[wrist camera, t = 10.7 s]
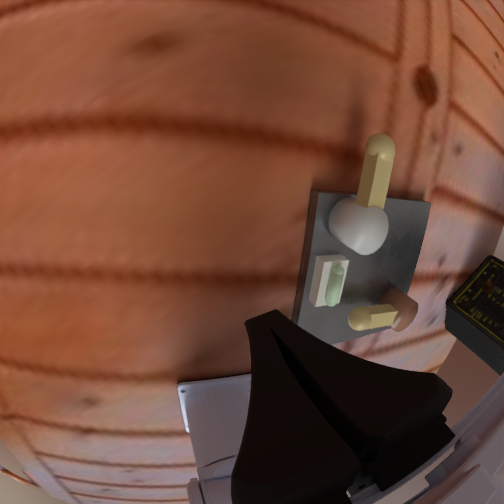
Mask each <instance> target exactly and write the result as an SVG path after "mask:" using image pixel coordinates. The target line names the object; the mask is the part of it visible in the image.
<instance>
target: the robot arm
mask: <svg viewBox="0 0 504 504" xmlns="http://www.w3.org/2000/svg"><path fill="white" fill-rule="evenodd" d="M244 324H245V327H246V330H247V333H248V336H249V342H250V352H251V374H246V375H240V376H233V377H226V378H219V379H210V380H202V381H192V382H181V383H179V384H178V385H177V388H178V394H179V399H180V405H181V410H182V415H183V419H184V424H185V429H186V431H187V432H190V437H191V442H192V446H193V451H194V455H195V460H196V464H197V472H198V476H199V480H200V481H198V480H197V478H192V479H190V482H189V483H188V484H187V492H188V497H189V502H190V504H373V503H375V502H376V501H378V500H380V499H382V498H383V497H385V496H387V495H388V494H390V493H391V492H393V491H395V490H396V489H398V488H399V487H401V486H402V485H404V484H405V483H406V482H408V481H410V480H411V479H412V478H414V477H415V476H416V475H418V474H419V473H421V472H422V471H423V470H424V469H426V468H427V467H428V466H430V465H431V464H432V463H433V462H435V461H436V460H437V459H438V458H440V457H441V456H442V455H443V454H444V453H445V452H446V451H448V450H449V449H450V448H451V447H452V446H453V445H454V444H455V446H454V451H453V452H452V453H451V454H450V455H449V456H448V457H447V458H446V459H445V460H444V461H442V462H441V463H440V464H439V465H438V466H437V467H436V468H435V469H433V470H432V471H431V472H430V473H429V474H427V475H426V476H425V479H426V481H427V482H428V483H429V486H428V487H426V488H425V489H424V490H422V491H421V492H419V493H418V494H417V495H415V496H414V497H412V498H411V499H410V500H408V501H406V502H405V503H403V504H504V482H503V481H502V480H501V478H500V477H499V476H498V475H497V473H496V472H497V471H498V470H499V468H500V467H501V466H502V464H503V463H504V372H503V374H502V375H501V376H500V377H499V378H498V380H497V381H496V382H495V383H494V385H493V386H492V387H491V388H490V389H489V390H488V391H487V392H486V394H485V395H484V396H483V397H482V398H481V399H480V400H479V401H478V402H477V403H476V404H475V405H474V406H473V407H472V408H471V409H470V410H469V411H468V412H467V413H466V415H464V416H463V417H462V418H461V419H460V420H459V421H458V422H457V423H456V424H455V425H454V426H453V427H452V428H449V427H448V426H447V425H446V424H445V422H446V417H445V416H444V415H443V414H442V412H443V410H444V409H445V407H446V406H447V404H448V402H449V401H450V399H451V397H452V389H451V388H450V387H449V386H448V385H447V384H446V383H445V382H444V381H443V380H442V379H441V378H440V377H438V376H437V375H436V374H435V373H426V372H417V371H408V370H402V369H397V368H392V367H388V366H385V365H381V364H377V363H374V362H370V361H367V360H364V359H362V358H359V357H356V356H354V355H351V354H349V353H346V352H344V351H342V350H340V349H338V348H336V347H333V346H332V345H330V344H328V343H326V342H324V341H322V340H320V339H319V338H317V337H315V336H314V335H312V334H310V333H309V332H307V331H306V330H304V329H303V328H301V327H300V326H298V325H297V324H295V323H294V322H292V321H291V320H290V319H288V318H287V317H286V316H285V315H283V314H282V313H281V312H280V311H278V310H276V309H275V310H273V311H270V312H267V313H265V314H262V315H259V316H257V317H254V318H251V319H248V320H246V322H245V323H244ZM347 490H348V492H349V493H350V495H351V497H348V495H347V494H346V491H347Z"/></svg>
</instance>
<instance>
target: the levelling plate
mask: <svg viewBox="0 0 504 504" xmlns="http://www.w3.org/2000/svg"><path fill="white" fill-rule="evenodd" d="M347 197H352V198H357V193H353V192H341V191H327V190H311V194H310V202H309V210H308V218H307V226H306V233H305V240H304V247H303V254H302V261H301V268H300V274H299V280H298V286H297V293H296V298H295V304H294V310H293V316H292V322H294V323H295V324H297V325H298V326H300V327H301V328H303V329H304V330H306V331H307V332H309V333H310V334H312V335H314V336H315V337H317V338H319V339H320V340H322V341H324V342H326V343H328V344H330V345H331V344H335V343H339V342H343V341H347V340H351V339H354V338H358V337H362V336H365V335H369V334H372V333H376V332H379V331H383V330H386V329H389V328H391V327H390V326H383V327H378V328H372V329H365V330H362V331H357V330H354V329H352V328H351V327H350V325H349V323H348V315H349V313H350V311H351V310H352V309H353V308H355V307H358V306H373V305H377V303H378V301H379V299H380V297H381V296H382V295H383V294H384V293H385V292H386V291H387V290H388V289H390V288H393V287H396V288H398V289H399V290H401V291H402V292H403V293H405V294H406V295H407V293H408V290H409V287H410V284H411V281H412V278H413V275H414V271H415V268H416V264H417V261H418V257H419V254H420V250H421V246H422V242H423V238H424V234H425V230H426V225H427V221H428V216H429V211H430V206H431V203H429V202H426V201H424V200H418V199H410V198H402V197H393V196H386V200H385V204H384V209H383V211H384V212H385V213H386V215H387V218H388V223H389V227H388V233H387V236H386V239H385V241H384V242H383V244H382V245H381V247H380V248H379V249H378V250H376V251H375V252H374V253H372V254H369V255H361V254H359V253H357V252H356V251H354V250H353V249H351V248H350V247H348V246H347V245H345V244H343V243H342V242H340V241H339V240H337V239H336V238H334V237H333V236H332V234H331V232H330V230H329V216H330V213H331V211H332V209H333V207H334V206H335V205H336V204H337V203H338V202H339V201H340V200H342V199H344V198H347ZM339 254H341V255H343V256H344V257H345V258H347V259H348V260H349V263H348V268H347V272H346V277H345V281H344V285H343V290H342V294H341V298H340V302H339V303H337V304H336V305H335V306H332V307H331V306H328V305H325V306H319V307H315V306H314V305H313V304H312V303H311V302H310V301H309V295H310V290H311V284H312V279H313V273H314V268H315V262H316V256H323V255H339Z"/></svg>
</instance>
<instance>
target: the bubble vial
mask: <svg viewBox="0 0 504 504" xmlns="http://www.w3.org/2000/svg"><path fill="white" fill-rule="evenodd" d="M348 263H349V260H348V259H347V258H345V257H344V256H343V255H341V254H339V255H323V256H316V262H315V268H314V273H313V279H312V284H311V290H310V295H309V301H310V302H311V303H312V304H313V305H314V306H315V307H319V306H325V305H328V306H331V307H332V306H335V305H336V304H337V303H339V302H340V298H341V294H342V290H343V285H344V281H345V277H346V272H347V268H348Z"/></svg>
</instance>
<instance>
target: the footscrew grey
mask: <svg viewBox="0 0 504 504" xmlns="http://www.w3.org/2000/svg"><path fill="white" fill-rule="evenodd" d="M395 152H396V148H395V144H394V142H393V140H392V139H391V138H390V137H389V136H388V135H386V134H382V133H377V134H374V135H372V136H371V137H370V138H369V139H368V140H367V143H366V152H365V157H364V163H363V168H362V174H361V179H360V184H359V189H358V193H357V198H352V197H347V198H344V199H342V200H340V201H339V202H338V203H337V204H336V205H335V206H334V207H333V209H332V211H331V213H330V216H329V230H330V232H331V234H332V236H333V237H334V238H336V239H337V240H339V241H340V242H342V243H343V244H345V245H347V246H348V247H350V248H351V249H353V250H354V251H356V252H357V253H359V254H361V255H369V254H372V253H374V252H375V251H376V250H378V249H379V248H380V247H381V245H382V244H383V242H384V241H385V239H386V236H387V233H388V227H389V223H388V218H387V215H386V213H385V212H384V211H383V209H384V204H385V200H386V195H387V191H388V186H389V181H390V176H391V171H392V166H393V160H394V155H395Z"/></svg>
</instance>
